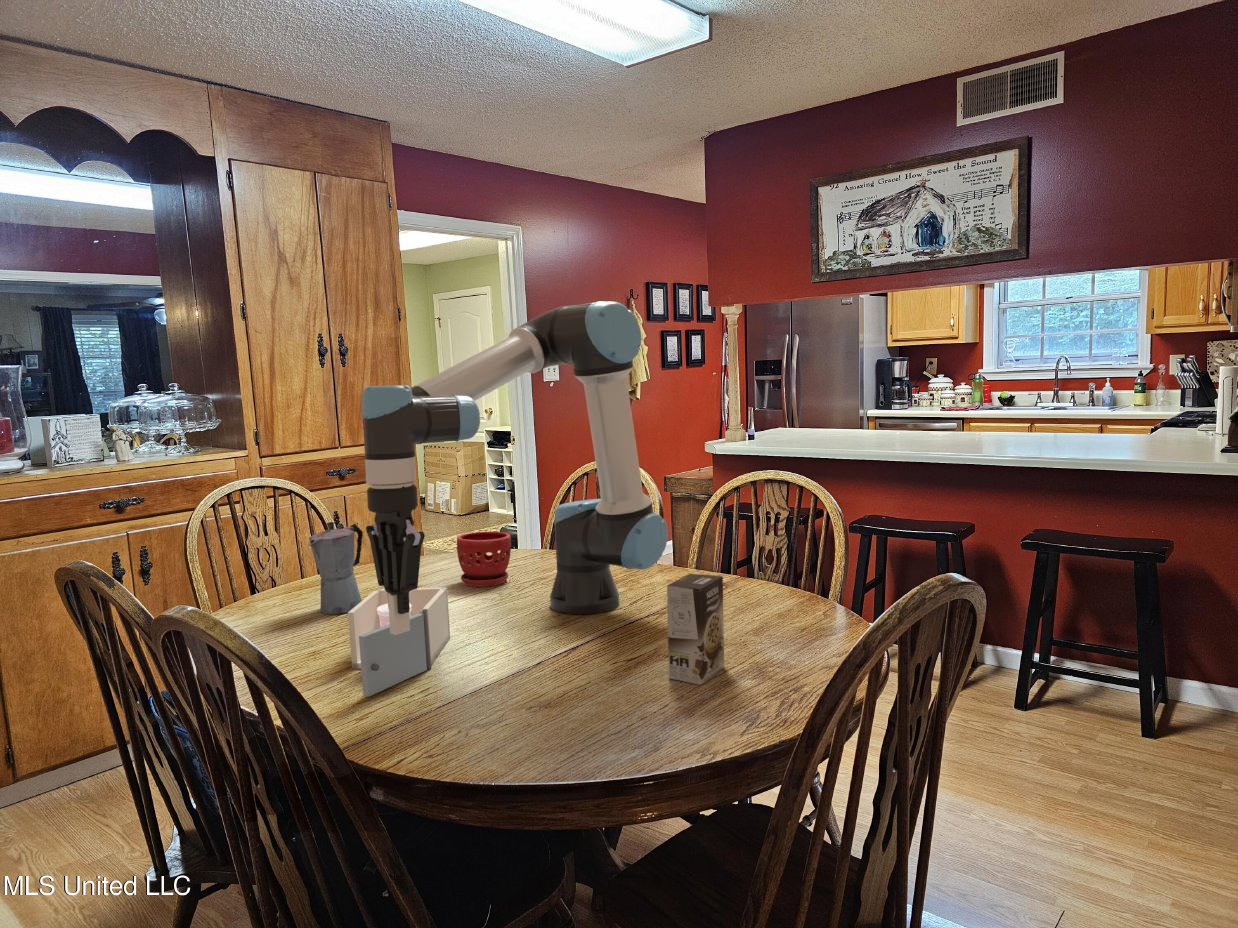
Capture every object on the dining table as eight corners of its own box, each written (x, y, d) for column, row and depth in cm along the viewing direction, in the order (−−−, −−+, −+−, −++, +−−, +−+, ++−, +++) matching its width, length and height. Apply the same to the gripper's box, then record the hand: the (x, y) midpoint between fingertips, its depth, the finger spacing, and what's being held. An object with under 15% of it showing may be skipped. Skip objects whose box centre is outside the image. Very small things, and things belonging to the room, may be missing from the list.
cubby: (452, 638, 157) (449, 584, 156) (430, 669, 141) (426, 610, 140) (379, 640, 158) (375, 586, 156) (349, 671, 141) (344, 612, 140)
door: (421, 668, 141) (417, 613, 140) (429, 670, 140) (426, 614, 139) (362, 695, 130) (357, 635, 129) (371, 697, 129) (366, 637, 128)
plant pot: (508, 588, 192) (506, 539, 190) (454, 590, 192) (451, 541, 191) (516, 574, 205) (513, 528, 203) (465, 576, 205) (462, 530, 203)
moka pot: (300, 616, 175) (292, 526, 173) (348, 596, 189) (342, 513, 187) (334, 620, 172) (327, 528, 169) (381, 600, 186) (375, 515, 183)
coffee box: (702, 686, 130) (700, 588, 128) (667, 679, 133) (665, 584, 131) (726, 667, 137) (724, 575, 135) (692, 661, 141) (690, 571, 139)
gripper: (436, 484, 123) (444, 633, 126) (389, 479, 132) (397, 618, 134) (394, 491, 118) (403, 646, 120) (347, 484, 126) (357, 629, 129)
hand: (400, 631), depth 127 cm, fingers closed
